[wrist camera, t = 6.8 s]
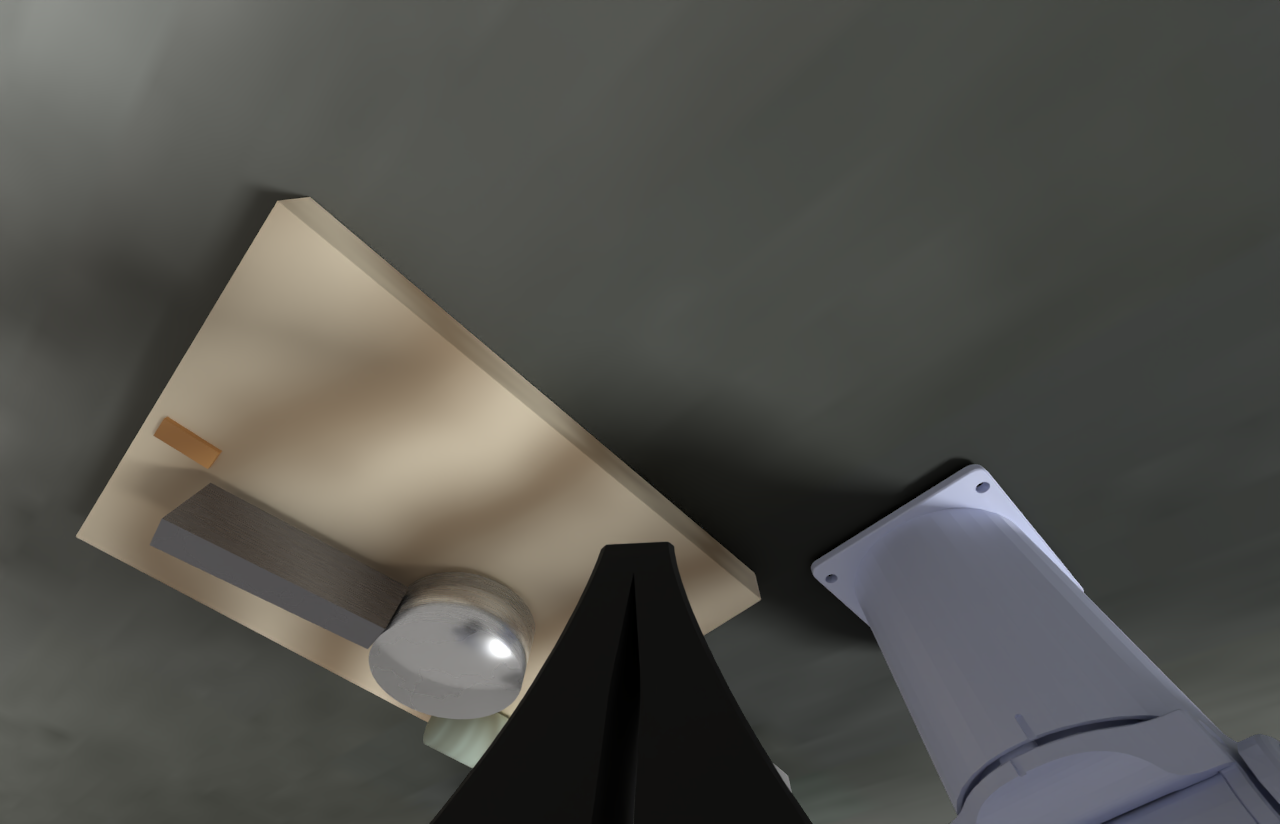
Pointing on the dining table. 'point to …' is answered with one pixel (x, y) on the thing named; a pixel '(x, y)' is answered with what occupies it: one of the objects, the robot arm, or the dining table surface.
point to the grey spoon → (367, 605)
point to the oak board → (386, 457)
